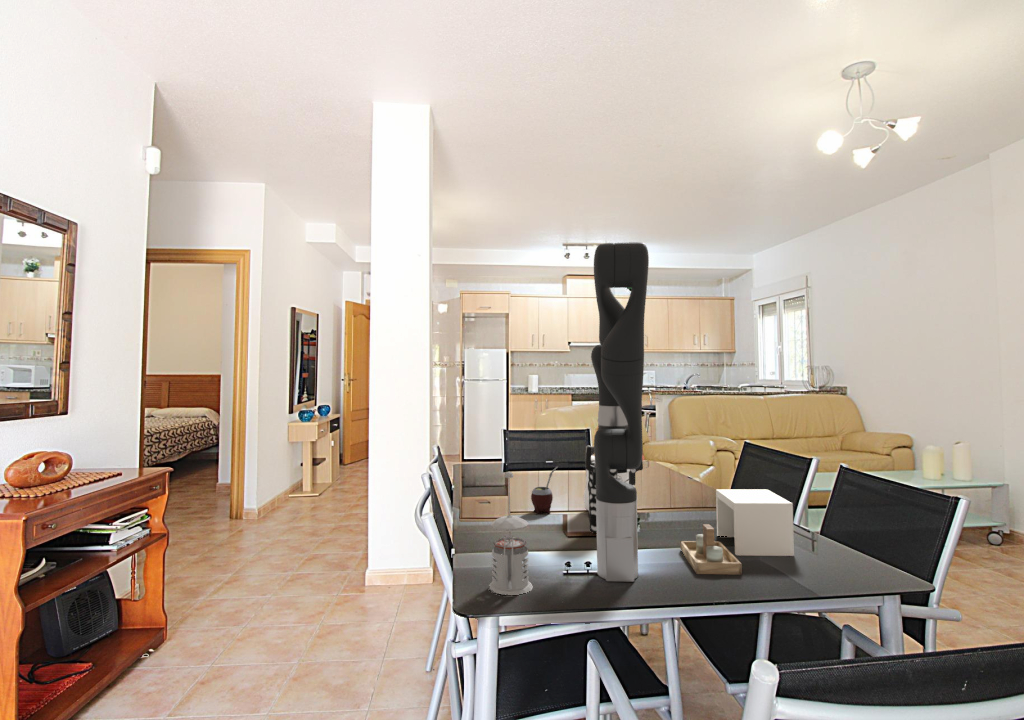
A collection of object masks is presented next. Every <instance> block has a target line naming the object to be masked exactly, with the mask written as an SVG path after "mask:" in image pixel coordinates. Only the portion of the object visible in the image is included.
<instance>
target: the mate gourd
mask: <svg viewBox="0 0 1024 720" xmlns="http://www.w3.org/2000/svg"><path fill="white" fill-rule="evenodd" d="M558 468H559V466H555V468H554V469H552V471H550V473H549V475H548V476H549V477H548V479H547V484H546V486H536V487H533V489H532V490H531V495H530V499H531V503H532V505H533V507H534V510H533V513H534V512H535V514H536V515H537V516H539V515H541V514H545V515H546V514H547V515H551V508H552V503H553V499H554V497H553V492H552V489H551V488H549V484H550V482H551V481H550V480H551V478H552V476H553V473H554V472H555V471H556V469H558Z"/></svg>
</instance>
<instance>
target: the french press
mask: <svg viewBox="0 0 1024 720" xmlns="http://www.w3.org/2000/svg"><path fill="white" fill-rule="evenodd" d="M504 478H505V479H508V515H504V516H500V517H498V518H496V519H495V520H493V521H492V522H491V523H490V525H491V527H492V529H494V530H498V531H501V532H502V531H503V532H504V531H505V532H509V535H508V536H507V537H506V535H504V537H500V538H498V539H495V540H494V541H493V545H494V546H493V547H492V549H491V556H492V557H491V561H492V564H491V567H492V570H491V572H492V575H491V576H492V577H491V580H492V581H491V582H490V584H489V585H488V586H490V589H491V590H493V591H494V592H496V593H499V594H505V595H506V594H508V595H519V594H523V593H526V594H528V593H529V591H530V592H531V591H533V588H534V586H533V584H532V583H531V582H530V581H529V575H528V574H529V569H528V568H529V563H528V562H529V557H527V556H529V548H528V547H527V546H526V544H527V541H526V540H525V539H524V538H520V537H515V536H514V535H511V532H512V531H513V532H515V531H519V530H522V529H525V528H526V527H527V526H528V525H529V522H528V521H527V520H525V519H523V518H521V517H519V516H516V515H511V494H510V493H511V491H510V490H511V486H510V485H511V484H510V483H511V482H510V481H511V480H510V479H512V478H514V474H513V472H512V471H506V472H505V473H504ZM511 536H512V537H511ZM527 592H528V593H527ZM523 595H524V594H523ZM519 596H520V595H519Z"/></svg>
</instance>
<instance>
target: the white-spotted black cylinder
mask: <svg viewBox="0 0 1024 720" xmlns="http://www.w3.org/2000/svg"><path fill="white" fill-rule="evenodd" d="M591 465H592V466H594V465H595V460H592V461H591ZM609 473H610V474H611V475H612V476H613V477H614V478H616V479H617V469H610V470H609ZM588 474H589V511H588V520H589V521H588V524H589V527H588V528H589V530H590V531H591V532H593V533H597V523H596V486H595V485H594V484H593V477H592V471H590V470H588ZM590 531H589V532H590ZM591 532H590V533H591ZM593 533H592V534H593Z"/></svg>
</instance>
